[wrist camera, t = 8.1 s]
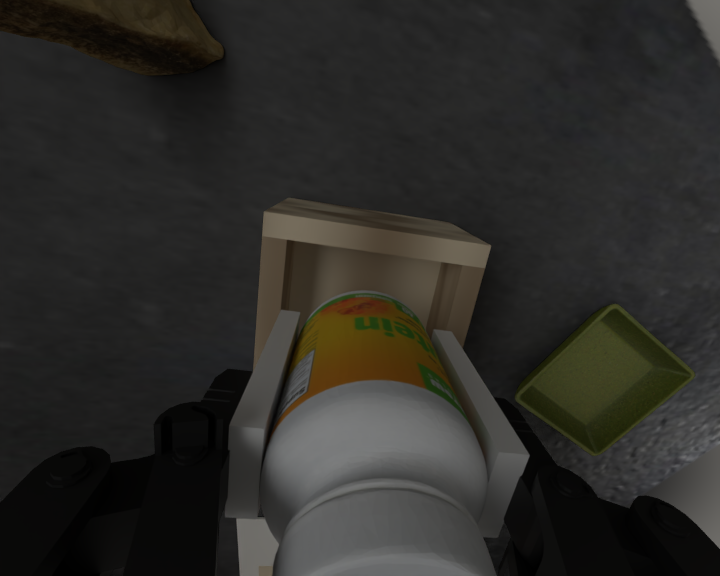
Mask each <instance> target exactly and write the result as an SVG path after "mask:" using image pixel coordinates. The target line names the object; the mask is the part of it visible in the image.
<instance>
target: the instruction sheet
mask: <svg viewBox="0 0 720 576" xmlns="http://www.w3.org/2000/svg"><path fill="white" fill-rule="evenodd" d="M237 536H238V552H239V568H240V576H272V572H273V563H274V559H275V555H276V552H277V549H278V547H279V544H278V542H277V541H276V539H275V538H274V536H273V535H272V533H271V532H270V530H269V527H268V525H267V523H266V520H265V518H264V517H257V519H244V518H237Z"/></svg>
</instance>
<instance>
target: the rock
mask: <svg viewBox="0 0 720 576" xmlns="http://www.w3.org/2000/svg"><path fill="white" fill-rule="evenodd" d="M0 31H4V32H8V33H12V34H17V35H21V36H25V37H31V38H41V39H44V40H47V41H50V42H56V43H60V44H65V45H68V46H71V47H73V48H74V49H76V50H78V51H80V52H82V53H85V54H87V55H89V56H91V57H94V58H97V59H100V60H102V61H104V62H107V63H109V64H112V65H114V66H116V67H119V68H122V69H126V70H130V71H133V72H135V73H138V74H142V75H171V74H179V73H190V72H194V71H196V70H199V69H202V68H204V67H205V66H207V65H208V64H210V63H212V62H214V61H216V60H219V59H222V58H223V55H224V49H223V47H222V45H221V44H220V43H219V42H217V41H216V40H215V39H213V37H212V36H211V35H210V34H209V32H208V31H207V29H206V27H205V25H204V24H203V22H202V21H201V19H200V17H199V16H198V14H197V13H196V12H195V11H194V9H193V7H192V5H191V3H190V0H0Z"/></svg>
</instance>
